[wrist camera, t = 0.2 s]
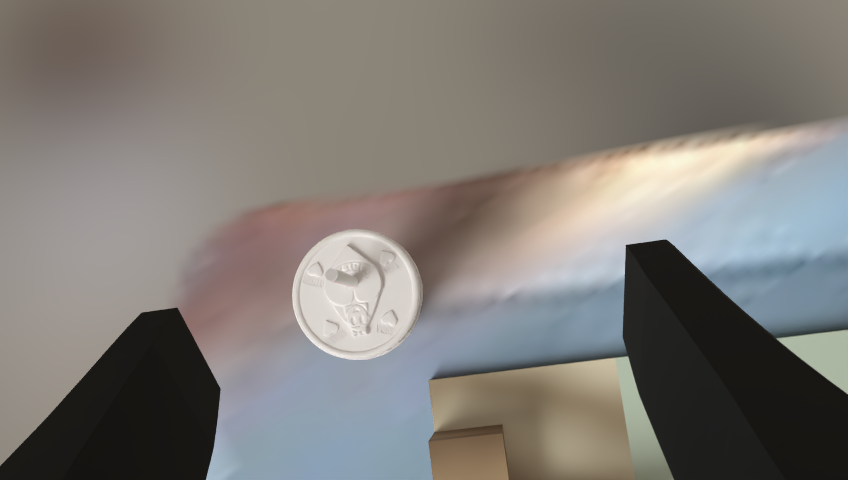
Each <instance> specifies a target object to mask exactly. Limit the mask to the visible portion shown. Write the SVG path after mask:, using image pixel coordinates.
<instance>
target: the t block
mask: <svg viewBox="0 0 848 480" xmlns="http://www.w3.org/2000/svg"><path fill="white" fill-rule="evenodd" d="M428 442H429V450H430V458H431V466H432V475H433V480H510V476H509V469H508V462H507V454H506V447H505V440H504V432H503V425H502V424H501V425H492V426H483V427H475V428H466V429H457V430H448V431H439V432H434V434H433V435H432V437H431V438H430V440H429V441H428Z"/></svg>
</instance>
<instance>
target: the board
mask: <svg viewBox="0 0 848 480" xmlns="http://www.w3.org/2000/svg"><path fill="white" fill-rule="evenodd" d="M776 339H777V340H778V341H780V342H781V343H782V344H783V345H785V346H786V347H787V348H788V349H789V350H791V351H792V352H793V353H794V354H796V355H797V356H798V357H799V358H801V359H802V360H803V361H805V362H806V363H807V364H808V365H810V366H811V367H812V368H814V369H815V370H816V371H818V372H819V373H820V374H821V375H823V376H824V377H825V378H827V379H828V380H829V381H831V382H832V383H833V384H835V385H836V386H837V387H839V388H840V389H842V390H843V391H844V392H846V393H847V394H848V329H846V330H838V331H830V332H821V333H813V334H805V335H796V336H788V337H780V338H776ZM429 389H430V397H431V405H432V413H433V421H434V429H435V432H439V431H448V430H457V429H466V428H475V427H483V426H492V425H501V424H502V425H503V432H504V440H505V447H506V454H507V462H508V469H509V476H510V480H674V479H673V476H672V474H671V471H670V469H669V467H668V464H667V462H666V459H665V457H664V455H663V452H662V450H661V447H660V445H659V443H658V440H657V438H656V435H655V433H654V430H653V428H652V426H651V423H650V421H649V418H648V416H647V413H646V411H645V408H644V406H643V403H642V401H641V398H640V396H639V393H638V390H637V386H636V383H635V379H634V376H633V372H632V369H631V365H630V362H629V358H628V356H622V357H613V358H605V359H597V360H589V361H580V362H572V363H564V364H555V365H547V366H539V367H530V368H522V369H514V370H505V371H497V372H489V373H481V374H472V375H464V376H456V377H447V378H439V379H431V380H429Z"/></svg>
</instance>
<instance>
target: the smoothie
mask: <svg viewBox="0 0 848 480" xmlns="http://www.w3.org/2000/svg"><path fill="white" fill-rule="evenodd" d="M292 299H293V308H294V312H295V316H296V318H297V321H298V323H299V325H300V327H301V329H302V330H303V332H304V333H305V335H306V336H307V337H308V338H309V339H310V340H311V342H312V343H314V344H315V345H316V346H317V347H319V348H320V349H322V350H323V351H325V352H327V353H329V354H331V355H334V356H337V357H340V358H345V359H350V360H367V359H372V358H375V357H378V356H381V355H385V354H386V353H388V352H389V351H391V350H393V349H394V348H396V347H397V346H399V345H400V344H401V343H402V342H403V341H404V340H405V339H406V338H407V336H408V335H409V334H410V333H411V332H412V330H413V328H414V326H415V324H416V322H417V320H418V318H419V315H420V311H421V307H422V303H423V286H422V281H421V277H420V274H419V270H418V267H417V266H416V264H415V262H414V261H413V259H412V258H411V256H410V254H409V253H408V252H407V251H406V250H405V249H404V248H403V247H402V246H401V245H399V244H398V243H397V242H396V241H394V240H392V239H390V238H388V237H386V236H385V235H383V234H380V233H377V232H373V231H369V230H361V229H352V230H345V231H341V232H338V233H335V234H332V235H330V236H328V237H326V238H325V239H323V240H321V241H320V242H319V243H317V244H316V245H315V246H314V247H313V248H312V249H311V250H310V251H309V252H308V253H307V255H306V256H305V257H304V259H303V260H302V262H301V264H300V266H299V268H298V270H297V272H296V275H295V279H294V283H293V291H292Z"/></svg>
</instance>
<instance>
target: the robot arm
mask: <svg viewBox="0 0 848 480" xmlns="http://www.w3.org/2000/svg"><path fill="white" fill-rule="evenodd" d="M623 339H624V343H625V347H626V350H627V354H628V358H629V362H630V365H631V369H632V372H633V376H634V379H635V383H636V386H637V390H638V393H639V396H640V398H641V401H642V403H643V406H644V408H645V411H646V413H647V416H648V418H649V421H650V423H651V426H652V428H653V430H654V433H655V435H656V438H657V440H658V443H659V445H660V447H661V450H662V452H663V455H664V457H665V459H666V462H667V464H668V467H669V469H670V471H671V474H672V476H673V479H674V480H848V394H847V393H846V392H844V391H843V390H842V389H840V388H839V387H837V386H836V385H835V384H833V383H832V382H831V381H829V380H828V379H827V378H825V377H824V376H823V375H821V374H820V373H819V372H818V371H816V370H815V369H814V368H812V367H811V366H810V365H808V364H807V363H806V362H805V361H803V360H802V359H801V358H799V357H798V356H797V355H796V354H794V353H793V352H792V351H791V350H789V349H788V348H787V347H786V346H785V345H783V344H782V343H781V342H780V341H778V340H777V339H776V338H775V337H774V336H772V335H771V334H770V333H769V332H768V331H767V330H765V329H764V328H763V327H762V326H761V325H760V324H758V323H757V322H756V321H755V320H754V319H753V318H751V317H750V316H749V315H748V314H747V313H746V312H744V311H743V310H742V309H741V308H740V307H739V306H738V305H736V304H735V303H734V302H733V301H732V300H731V299H730V298H729V297H728V296H726V295H725V294H724V293H723V292H722V291H721V290H720V289H719V288H718V287H717V286H716V285H715V284H713V283H712V282H711V281H710V280H709V279H708V278H707V277H706V276H705V275H704V274H703V273H702V272H701V271H700V270H699V269H698V268H697V267H695V266H694V265H693V264H692V263H691V262H690V261H689V260H688V259H687V258H686V257H685V256H684V255H683V254H682V253H681V252H680V251H679V250H678V249H677V248H676V247H675V246H674V245H673V244H671V243H670V242H669V241H667V240H659V241H652V242H644V243H637V244H630V245H626V260H625V288H624V316H623ZM219 399H220V387H219V385H218V383H217V381H216V379H215V378H214V376H213V374H212V372H211V370H210V368H209V366H208V364H207V362H206V361H205V359H204V357H203V355H202V353H201V351H200V349H199V347H198V346H197V344H196V342H195V340H194V338H193V336H192V334H191V332H190V331H189V329H188V327H187V325H186V323H185V321H184V319H183V317H182V315H181V314H180V312H179V310H178V308H172V309H165V310H158V311H150V312H143V313H141V314H140V315H139V316H138V317H137V318H136V319H135V320H134V321H133V322H132V323H131V324H130V326H128V327H127V329H126V330H125V331H124V332H123V333H122V334H121V335H120V336H119V337H118V339H117V340H116V341H115V342H114V343H113V344H112V345H111V346H110V347H109V349H108V350H107V351H106V352H105V353H104V354H103V355H102V357H101V358H100V359H99V360H98V361H97V362H96V363H95V365H94V366H93V367H92V368H91V369H90V370H89V371H88V373H87V374H86V375H85V376H84V377H83V378H82V379H81V381H79V383H78V384H77V385H76V386H75V387H74V388H73V389H72V390H71V392H70V393H69V394H68V395H67V396H66V397H65V398H64V399H63V400H62V402H61V403H60V404H59V405H58V406H57V407H56V408H55V409H54V410H53V411H52V413H51V414H50V415H49V416H48V417H47V418H46V419H45V420H44V421H43V422H42V423H41V424H40V425H39V426H38V428H37V429H36V430H35V431H34V432H33V433H32V434H31V435H30V436H29V437H28V438H27V439H26V440H25V441H24V442H23V443H22V444H21V445H20V446H19V447H18V448H17V449H16V450H15V452H13V453H12V454H11V456H10V457H9V458H8V459H7V460H6V461H5V462H4V463H3V464H2V465H1V466H0V480H206V477H207V473H208V469H209V465H210V461H211V456H212V452H213V448H214V441H215V434H216V427H217V419H218V409H219Z"/></svg>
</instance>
